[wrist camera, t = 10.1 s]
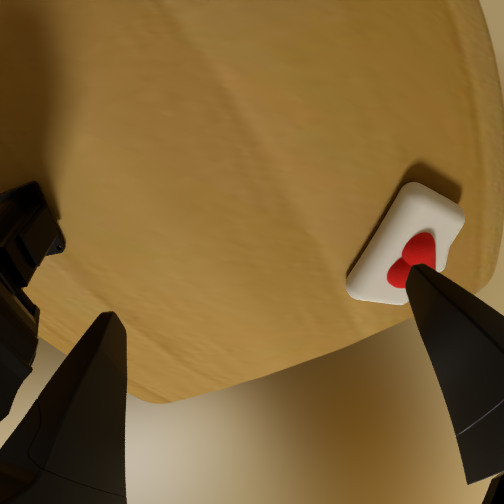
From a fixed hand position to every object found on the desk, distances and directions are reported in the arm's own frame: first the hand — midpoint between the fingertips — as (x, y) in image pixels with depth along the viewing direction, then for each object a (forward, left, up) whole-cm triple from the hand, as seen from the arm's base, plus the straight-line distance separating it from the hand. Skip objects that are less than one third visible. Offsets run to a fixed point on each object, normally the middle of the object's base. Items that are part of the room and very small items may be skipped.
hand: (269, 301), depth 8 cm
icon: (+15, -11, -14) cm, 23 cm away
